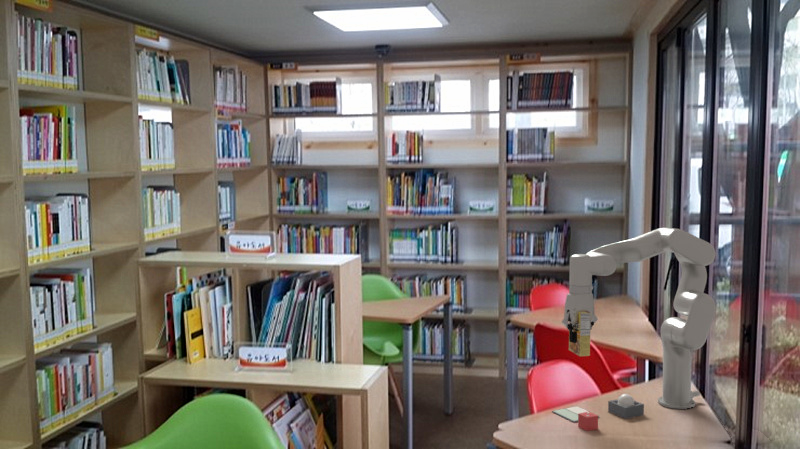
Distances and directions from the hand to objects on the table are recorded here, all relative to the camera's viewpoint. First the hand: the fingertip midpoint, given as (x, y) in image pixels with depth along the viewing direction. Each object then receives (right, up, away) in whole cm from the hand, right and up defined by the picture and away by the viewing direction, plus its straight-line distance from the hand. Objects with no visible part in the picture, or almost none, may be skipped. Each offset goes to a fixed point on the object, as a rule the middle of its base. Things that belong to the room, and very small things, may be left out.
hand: (579, 341), depth 246 cm
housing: (+17, -26, +2) cm, 31 cm away
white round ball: (+17, -24, +2) cm, 30 cm away
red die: (0, -27, -12) cm, 29 cm away
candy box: (0, -5, +1) cm, 5 cm away
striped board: (-1, -26, +1) cm, 26 cm away
